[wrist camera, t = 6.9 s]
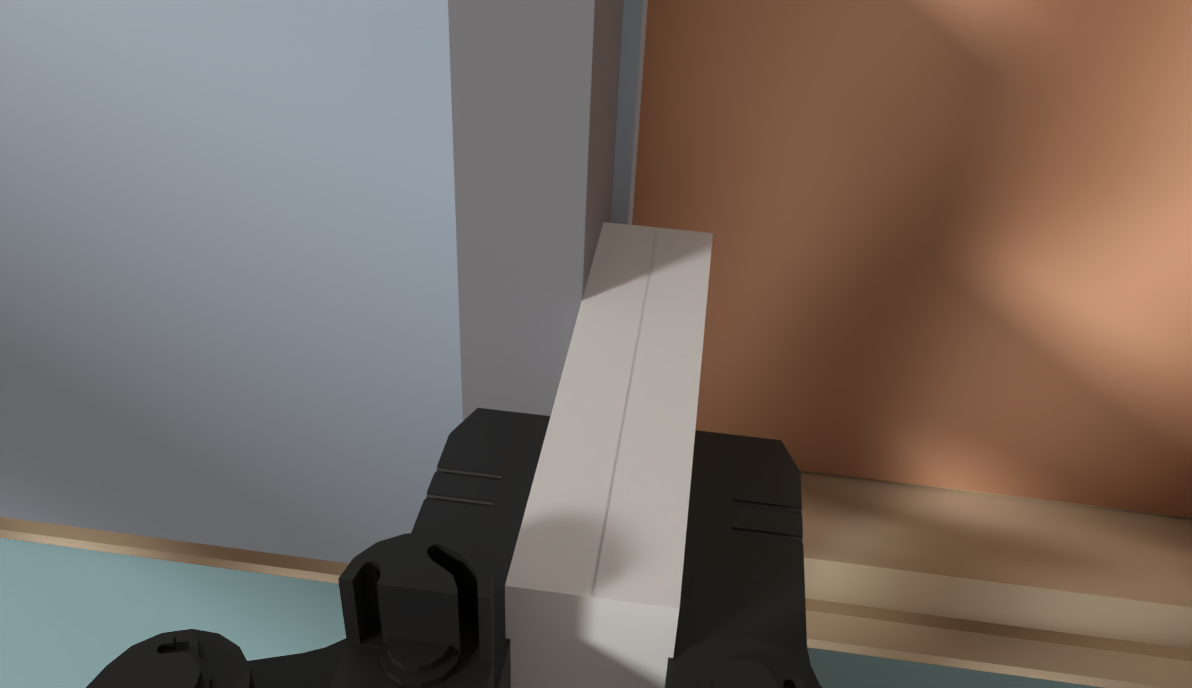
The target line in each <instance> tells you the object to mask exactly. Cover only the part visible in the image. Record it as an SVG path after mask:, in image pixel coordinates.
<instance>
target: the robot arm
mask: <svg viewBox="0 0 1192 688" xmlns="http://www.w3.org/2000/svg"><path fill="white" fill-rule="evenodd" d="M712 238H713V233H707V232H697V231H687V230H677V229H667V228H657V227H647V226H637V225H627V224H617V223H607V222H603V226H602V229H601V233H600V237H599V240H598V244H597V247H596V251H595V255H594V258H593V262H592V266H591V269H590V273H589V277H588V280H587V284H586V288H585V291H584V295H583V299H582V301H581V305H580V309H579V313H578V316H577V320H576V324H575V327H574V331H573V335H572V339H571V342H570V346H569V350H568V353H567V357H566V361H565V365H564V368H563V372H562V376H561V379H560V383H559V387H558V391H557V394H556V398H555V402H554V405H553V409H552V413H551V416H545V415H536V414H528V413H519V412H511V411H502V410H494V409H485V408H477V409H476V410H475V411H474V412H472V413H471V414H470V415H469V416H468V417H467V418H466V419H465V420H464V421H463V422H462V423H460V424H459V425H458V426H457V427H456V428H455V429H454V430H453V431H452V432H451V433H450V434H449V436H448V439H447V441H446V444H445V446H444V449H443V452H442V454H441V457H440V459H439V462H438V465H437V471H436V472H434V475H433V478H432V480H431V483H430V485H429V488H428V490H427V496H426V499H424V501H423V503H422V506H421V509H420V511H419V514H418V516H417V519H416V522H415V524H414V527H413V529H412V532H411V533H405V534H402V535H399V536H395V537H392V538H389V539H385V540H382V541H379V542H376V543H375V544H373V545H372V546H370V547H369V548H367V549H366V550H364V551H363V552H361V553H360V554H358V555H357V556H355V557H354V558H353V559H352V560H351V562H350V563H349V565H348V566H347V567H346V569H345V570H344V572H343V573H342V574H341V576H340V577H339V578H338V581H339V588H340V595H341V602H342V609H343V616H344V624H345V631H346V639H344V640H341V641H339V642H337V643H335V644H332V645H330V646H328V647H326V648H322V649H318V650H314V651H309V652H305V653H301V654H294V655H287V656H280V657H273V658H266V659H259V660H252V661H247V660H246V658H245V656H244V655H243V653H242V651H241V649H240V647H239V646H237V645H236V644H234V643H233V642H231V641H230V640H228V639H227V638H225V637H223V636H222V635H220V634H218V633H212V632H206V631H201V630H195V629H189V630H181V631H174V632H167V633H161V634H159V635H156V636H154V637H152V638H149V639H147V640H145V641H142V642H140V643H138V644H135V645H133V646H131V647H130V648H129V649H127V650H126V651H125V652H124V653H122V654H121V655H120V656H118V657H117V658H116V659H115V660H113V661H112V662H111V663H110V664H108V665H107V666H106V667H105V668H104V669H103V670H102V671H101V672H100V673H99V674H98V675H97V677H96V678H95V679H94V680H93V681H92V682H91V683H90V684H89V685H88V686H87V687H86V688H822V687H821V686H820V684H819V682H818V680H817V678H816V676H815V674H814V672H813V670H812V668H811V666H810V660H809V655H808V650H807V631H806V603H805V576H804V549H803V543H802V540H803V522H802V514H801V511H802V495H801V472H800V471H799V469H798V467H797V466H796V464H795V462H794V461H793V459H792V457H791V456H790V454H789V452H788V451H787V449H786V447H785V446H784V444H783V442H782V441H781V440H775V439H767V438H758V437H750V436H741V435H732V434H724V433H715V432H707V431H698V430H695V428H696V417H697V406H698V395H699V384H700V372H701V361H702V350H703V339H704V327H705V316H706V305H707V294H708V282H709V271H710V260H711V249H712Z"/></svg>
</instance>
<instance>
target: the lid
mask: <svg viewBox="0 0 1192 688" xmlns="http://www.w3.org/2000/svg"><path fill="white" fill-rule="evenodd" d="M647 6H648V0H0V517H6V518H13V519H21V520H28V521H35V522H43V523H50V524H58V525H65V526H73V527H80V528H88V529H95V530H103V531H110V532H117V533H125V534H132V535H140V536H147V537H155V538H162V539H170V540H177V541H185V542H192V543H200V544H207V545H214V546H222V547H229V548H237V549H244V550H252V551H259V552H267V553H274V554H282V555H289V556H296V557H304V558H311V559H319V560H326V561H334V562H341V563H350V562H351V560H352V559H353V558H354V557H355V556H357V555H358V554H360V553H361V552H363V551H364V550H366V549H367V548H369V547H370V546H372V545H373V544H375V543H376V542H379V541H382V540H385V539H389V538H392V537H395V536H399V535H402V534H405V533H411V532H412V529H413V527H414V524H415V522H416V519H417V516H418V514H419V511H420V509H421V506H422V503H423V501H424V499H426V496H427V490H428V488H429V485H430V483H431V480H432V478H433V475H434V472H436V471H437V465H438V462H439V459H440V457H441V454H442V452H443V449H444V446H445V444H446V441H447V439H448V436H449V434H450V433H451V432H452V431H453V430H454V429H455V428H456V427H457V426H458V425H459V424H460V423H462V422H463V421H464V420H465V419H466V418H467V417H468V416H469V415H470V414H471V413H472V412H474V411H475V410H476V409H477V408H485V409H494V410H502V411H511V412H519V413H528V414H536V415H545V416H551V413H552V409H553V405H554V402H555V398H556V394H557V391H558V387H559V383H560V379H561V376H562V372H563V368H564V365H565V361H566V357H567V353H568V350H569V346H570V342H571V339H572V335H573V331H574V327H575V324H576V320H577V316H578V313H579V309H580V305H581V301H582V299H583V295H584V291H585V288H586V284H587V280H588V277H589V273H590V269H591V266H592V262H593V258H594V255H595V251H596V247H597V244H598V240H599V237H600V233H601V229H602V226H603V222H607V223H617V224H627V225H632V218H633V204H634V190H635V175H636V161H637V147H638V133H639V119H640V105H641V91H642V77H643V63H644V49H645V35H646V21H647Z"/></svg>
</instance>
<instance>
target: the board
mask: <svg viewBox="0 0 1192 688" xmlns="http://www.w3.org/2000/svg"><path fill="white" fill-rule="evenodd" d="M632 225H637V226H647V227H657V228H667V229H677V230H687V231H697V232H707V233H713V238H712V249H711V260H710V271H709V282H708V294H707V305H706V316H705V327H704V339H703V350H702V361H701V372H700V384H699V395H698V406H697V417H696V428H695V430H698V431H707V432H715V433H724V434H732V435H741V436H750V437H758V438H767V439H775V440H781V441H782V442H783V444H784V446H785V447H786V449H787V451H788V452H789V454H790V456H791V457H792V459H793V461H794V462H795V464H796V466H797V467H798V469H799V471H800V472H801V495H802V511H801V514H802V522H803V540H802V543H803V549H804V576H805V603H806V631H807V647H809V648H816V649H824V650H831V651H838V652H846V653H853V654H861V655H868V656H875V657H883V658H890V659H897V660H905V661H912V662H919V663H927V664H934V665H941V666H949V667H956V668H964V669H971V670H978V671H986V672H993V673H1000V674H1008V675H1015V676H1022V677H1030V678H1037V679H1045V680H1052V681H1059V682H1067V683H1074V684H1081V685H1089V686H1096V687H1103V688H1192V0H648V6H647V21H646V35H645V49H644V63H643V77H642V91H641V105H640V119H639V133H638V147H637V161H636V175H635V190H634V204H633V218H632ZM0 538H7V539H14V540H22V541H29V542H36V543H44V544H51V545H58V546H66V547H73V548H80V549H88V550H95V551H103V552H110V553H117V554H125V555H132V556H139V557H147V558H154V559H161V560H169V561H176V562H184V563H191V564H198V565H206V566H213V567H220V568H228V569H235V570H242V571H250V572H257V573H264V574H272V575H279V576H287V577H294V578H301V579H309V580H316V581H323V582H331V583H338V584H339V581H338V578H339V577H340V576H341V574H342V573H343V572H344V570H345V569H346V567H347V566H348V565H349V563H341V562H334V561H326V560H319V559H311V558H304V557H296V556H289V555H282V554H274V553H267V552H259V551H252V550H244V549H237V548H229V547H222V546H214V545H207V544H200V543H192V542H185V541H177V540H170V539H162V538H155V537H147V536H140V535H132V534H125V533H117V532H110V531H103V530H95V529H88V528H80V527H73V526H65V525H58V524H50V523H43V522H35V521H28V520H21V519H13V518H6V517H0Z"/></svg>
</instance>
